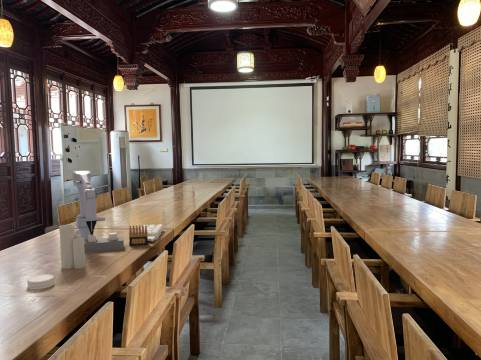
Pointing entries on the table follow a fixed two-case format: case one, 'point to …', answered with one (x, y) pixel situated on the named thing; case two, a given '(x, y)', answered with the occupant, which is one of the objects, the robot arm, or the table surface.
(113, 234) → the peg right
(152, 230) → the organizer
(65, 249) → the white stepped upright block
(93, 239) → the peg left
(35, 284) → the coaster
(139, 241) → the ammunition clip
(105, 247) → the block
